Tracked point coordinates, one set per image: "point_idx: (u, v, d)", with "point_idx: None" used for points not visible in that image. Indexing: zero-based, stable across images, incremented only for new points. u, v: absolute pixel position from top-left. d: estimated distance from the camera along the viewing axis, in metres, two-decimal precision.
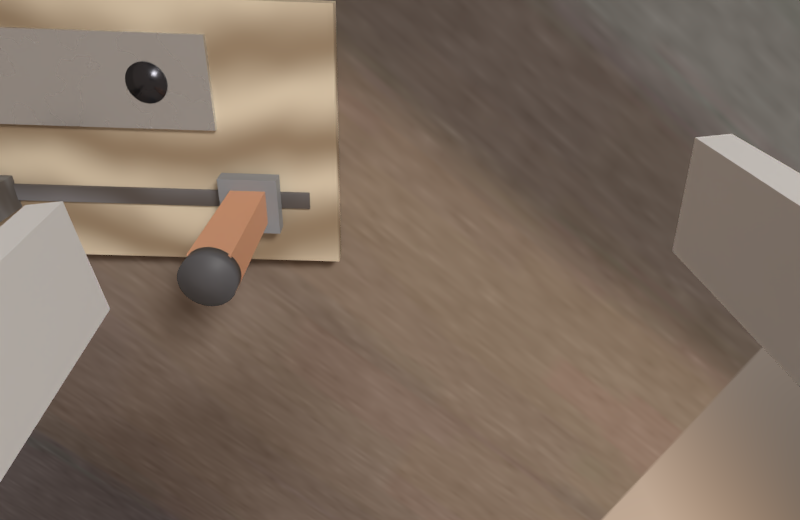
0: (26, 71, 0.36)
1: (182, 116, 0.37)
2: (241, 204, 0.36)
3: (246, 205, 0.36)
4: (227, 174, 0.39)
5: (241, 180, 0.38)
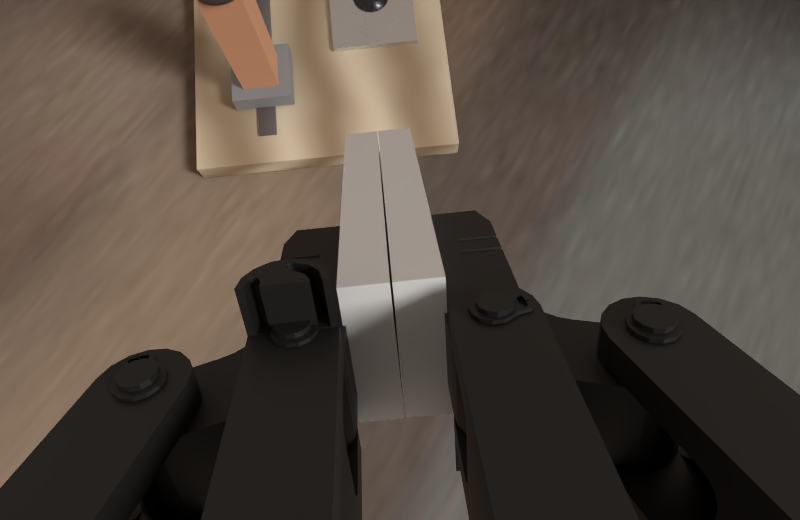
0: None
1: (343, 22, 0.40)
2: (270, 52, 0.36)
3: (269, 56, 0.36)
4: (291, 57, 0.40)
5: (288, 65, 0.38)
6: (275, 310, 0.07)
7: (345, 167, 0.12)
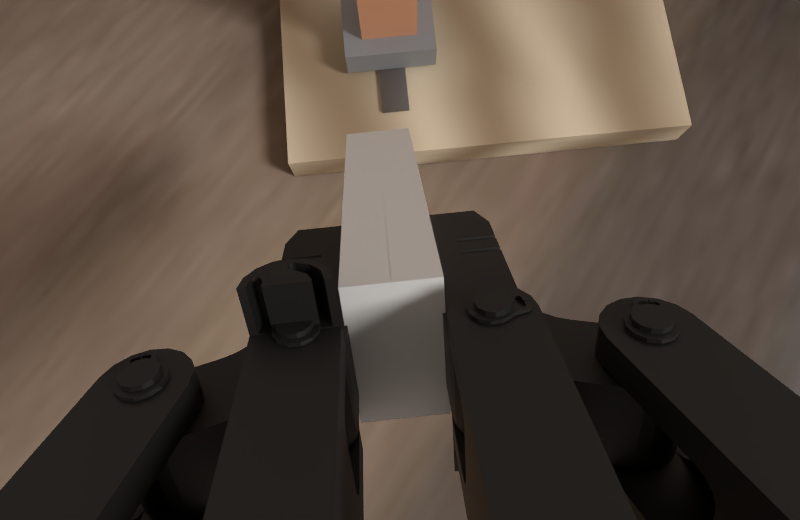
0: None
1: None
2: None
3: None
4: None
5: (429, 2, 0.25)
6: (277, 309, 0.07)
7: (346, 167, 0.12)
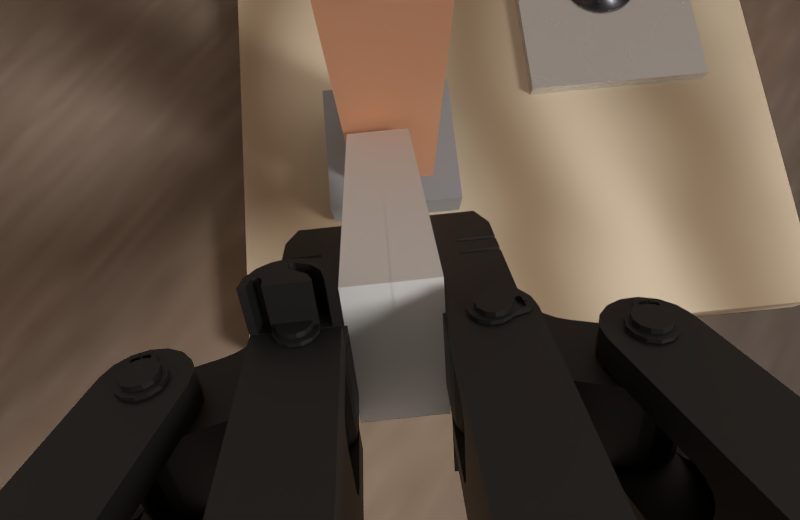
0: None
1: (549, 33, 0.20)
2: None
3: None
4: None
5: (451, 127, 0.18)
6: (277, 309, 0.07)
7: (346, 167, 0.12)
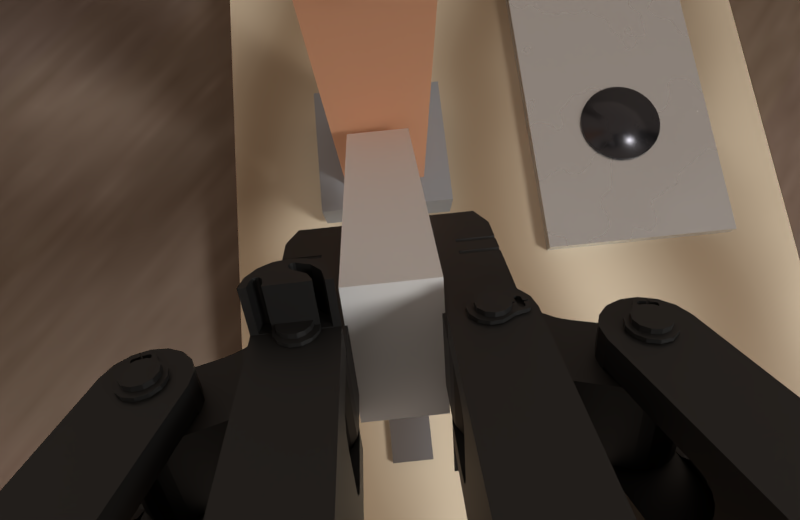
0: None
1: (566, 184, 0.18)
2: None
3: None
4: None
5: (442, 129, 0.18)
6: (278, 309, 0.07)
7: (346, 167, 0.12)
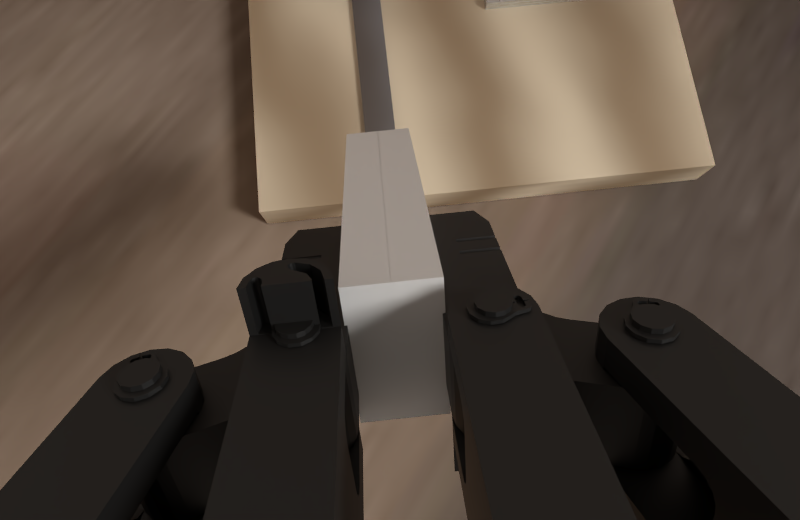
0: None
1: None
2: None
3: None
4: None
5: None
6: (277, 309, 0.07)
7: (346, 167, 0.12)
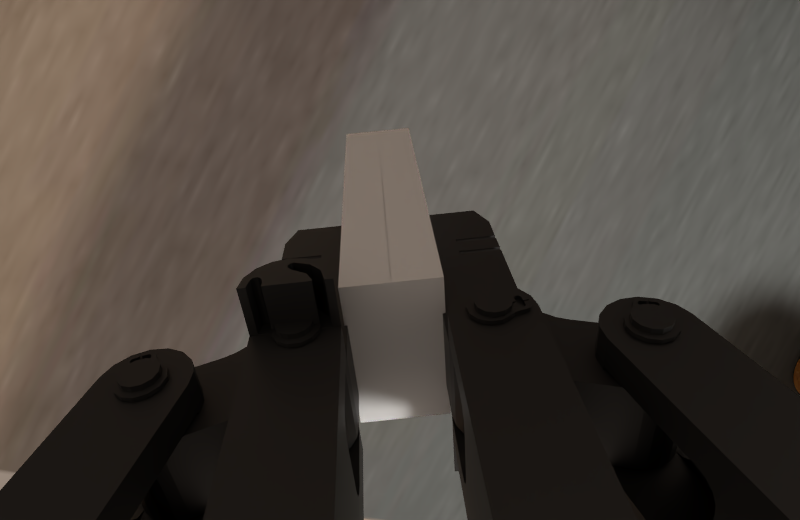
0: None
1: None
2: None
3: None
4: None
5: None
6: (277, 309, 0.07)
7: (346, 167, 0.12)
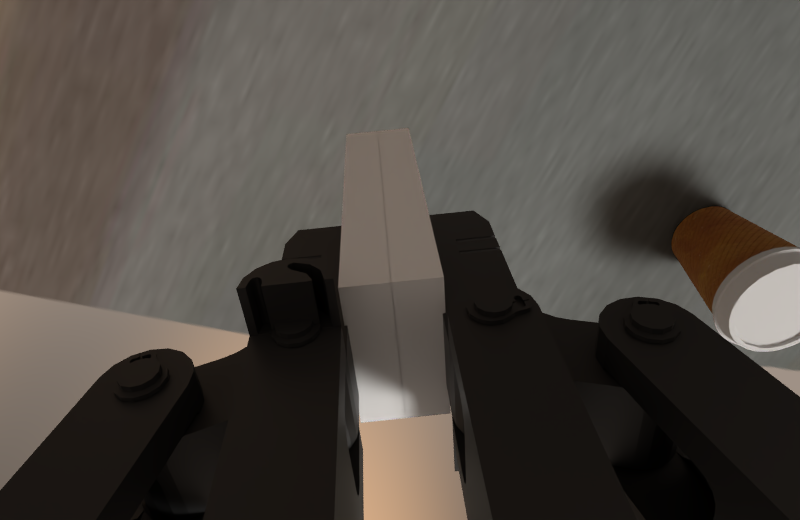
0: None
1: None
2: None
3: None
4: None
5: None
6: (277, 310, 0.07)
7: (346, 167, 0.12)
